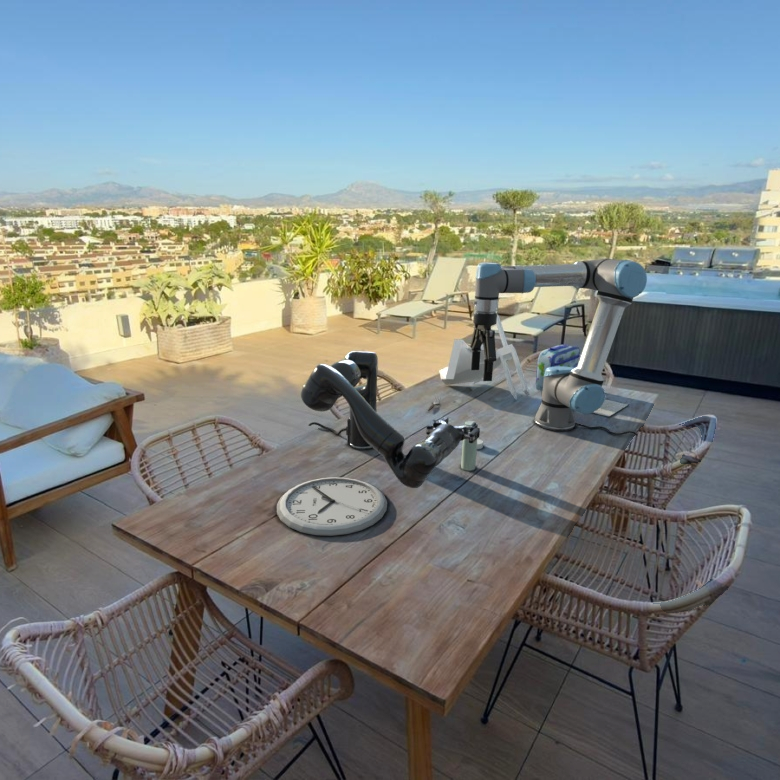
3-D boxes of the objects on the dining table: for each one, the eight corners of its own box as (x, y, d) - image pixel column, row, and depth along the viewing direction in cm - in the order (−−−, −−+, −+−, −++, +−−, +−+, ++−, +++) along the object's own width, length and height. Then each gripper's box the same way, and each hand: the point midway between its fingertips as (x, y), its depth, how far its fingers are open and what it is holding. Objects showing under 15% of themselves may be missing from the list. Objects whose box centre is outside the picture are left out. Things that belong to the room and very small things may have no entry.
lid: (464, 444, 184) (465, 439, 184) (477, 442, 186) (477, 437, 186) (473, 450, 180) (473, 445, 179) (485, 448, 182) (486, 442, 181)
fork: (425, 411, 216) (425, 407, 215) (435, 400, 230) (435, 396, 230) (431, 412, 215) (431, 408, 214) (441, 401, 229) (441, 396, 229)
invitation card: (608, 416, 214) (573, 407, 224) (608, 416, 214) (573, 408, 224) (628, 404, 229) (594, 396, 238) (628, 405, 229) (594, 397, 238)
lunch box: (552, 397, 237) (557, 352, 231) (531, 392, 245) (535, 348, 238) (579, 386, 255) (584, 344, 249) (558, 381, 262) (563, 340, 256)
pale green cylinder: (475, 465, 168) (479, 421, 164) (474, 471, 164) (477, 426, 160) (462, 463, 169) (464, 419, 165) (460, 469, 165) (462, 424, 161)
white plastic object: (461, 429, 252) (437, 405, 227) (444, 352, 274) (420, 323, 250) (535, 404, 240) (518, 377, 215) (510, 326, 262) (492, 293, 237)
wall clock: (392, 527, 129) (268, 531, 127) (391, 533, 130) (269, 537, 127) (383, 473, 158) (282, 475, 155) (383, 478, 158) (282, 480, 156)
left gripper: (467, 434, 134) (485, 414, 148) (417, 424, 140) (438, 406, 154) (466, 460, 137) (483, 439, 151) (416, 450, 143) (437, 430, 157)
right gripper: (463, 306, 180) (460, 365, 187) (486, 318, 157) (481, 386, 163) (484, 306, 181) (480, 365, 188) (510, 318, 158) (504, 385, 164)
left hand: (461, 422), depth 152 cm, fingers open, 8 cm apart
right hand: (481, 375), depth 175 cm, fingers open, 13 cm apart
